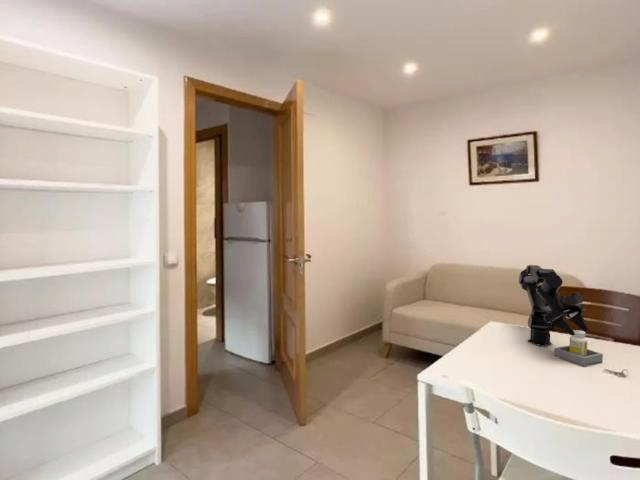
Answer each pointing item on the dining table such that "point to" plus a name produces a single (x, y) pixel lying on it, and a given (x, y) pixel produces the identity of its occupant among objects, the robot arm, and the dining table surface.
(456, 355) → the dining table surface
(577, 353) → the supplement bottle
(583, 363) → the tray
